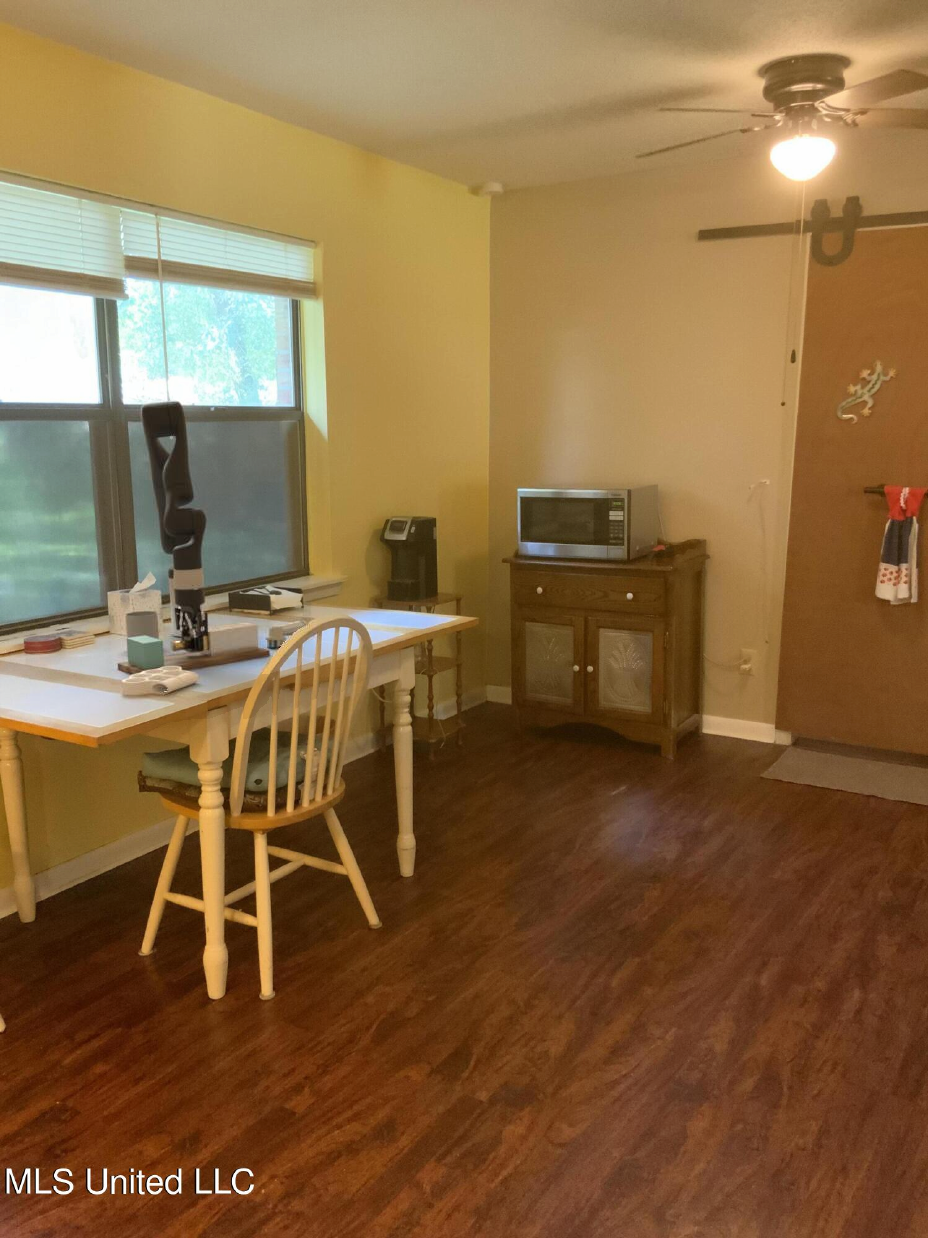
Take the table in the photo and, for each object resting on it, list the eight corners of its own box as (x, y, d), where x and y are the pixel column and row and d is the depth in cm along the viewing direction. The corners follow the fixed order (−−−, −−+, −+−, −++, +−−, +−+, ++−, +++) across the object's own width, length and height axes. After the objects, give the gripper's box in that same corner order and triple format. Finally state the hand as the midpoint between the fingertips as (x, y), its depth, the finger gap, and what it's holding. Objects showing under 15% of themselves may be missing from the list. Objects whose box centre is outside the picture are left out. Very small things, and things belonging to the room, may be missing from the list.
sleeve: (200, 653, 273) (198, 629, 272) (247, 645, 282) (246, 622, 281) (211, 656, 268) (209, 631, 267) (258, 648, 277) (257, 624, 276)
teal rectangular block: (128, 663, 262) (126, 638, 261) (147, 660, 265) (145, 635, 264) (145, 669, 254) (143, 643, 253) (164, 666, 258) (162, 640, 257)
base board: (117, 668, 262) (117, 663, 262) (243, 648, 286) (243, 642, 285) (141, 677, 252) (141, 671, 252) (269, 655, 275) (269, 650, 275)
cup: (154, 651, 283) (151, 615, 282) (124, 652, 283) (121, 616, 282) (162, 645, 292) (160, 610, 290) (133, 646, 292) (131, 611, 290)
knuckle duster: (159, 700, 232) (107, 695, 237) (207, 682, 248) (158, 677, 254) (158, 685, 231) (106, 680, 237) (207, 668, 248) (157, 664, 253)
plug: (170, 652, 266) (169, 638, 265) (245, 640, 280) (245, 627, 279) (176, 655, 263) (175, 640, 262) (252, 642, 277) (252, 628, 277)
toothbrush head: (311, 619, 308) (280, 623, 283) (311, 642, 308) (280, 647, 283) (294, 619, 309) (262, 622, 284) (294, 641, 309) (262, 647, 284)
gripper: (162, 584, 268) (167, 647, 271) (188, 590, 257) (192, 655, 260) (189, 581, 273) (193, 643, 276) (215, 587, 262) (219, 651, 265)
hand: (193, 649), depth 268 cm, fingers open, 6 cm apart
